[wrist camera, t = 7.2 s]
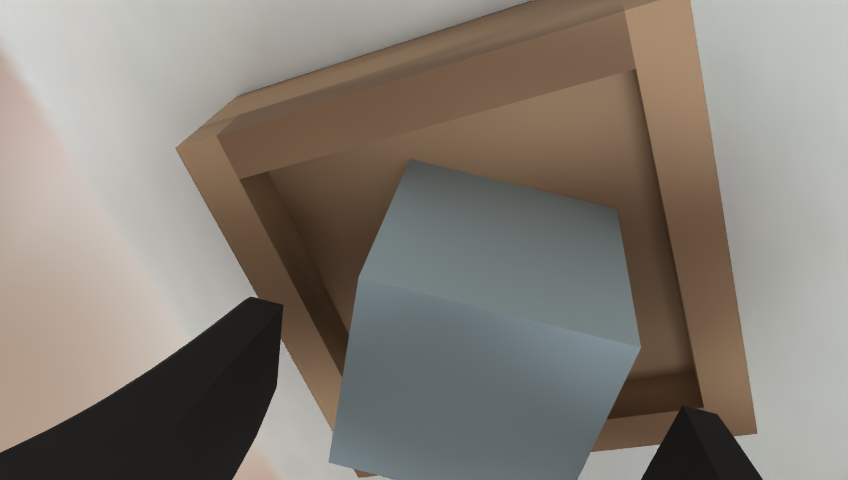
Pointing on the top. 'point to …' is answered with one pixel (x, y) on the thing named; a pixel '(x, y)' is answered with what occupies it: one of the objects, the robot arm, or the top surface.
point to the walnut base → (501, 160)
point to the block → (484, 333)
